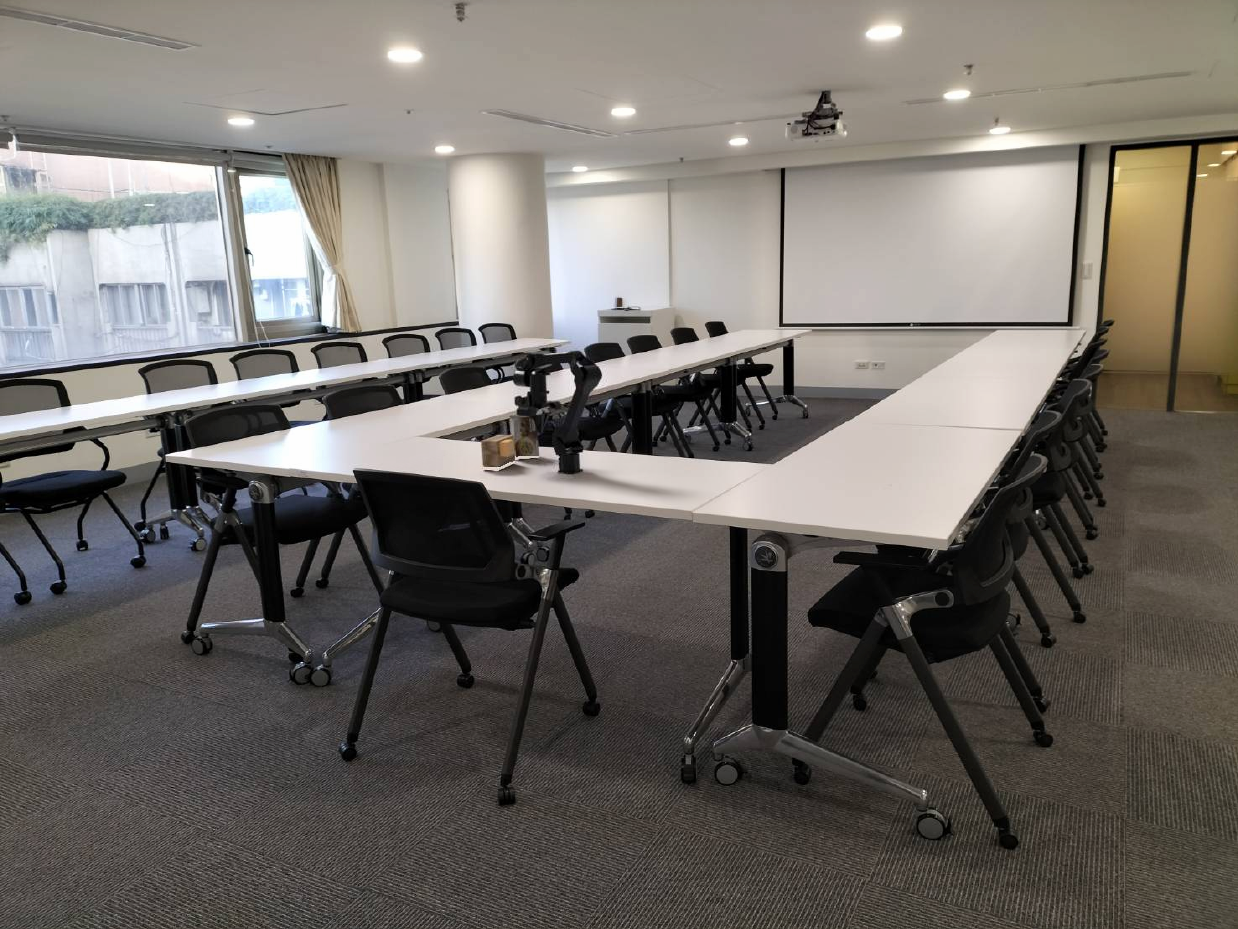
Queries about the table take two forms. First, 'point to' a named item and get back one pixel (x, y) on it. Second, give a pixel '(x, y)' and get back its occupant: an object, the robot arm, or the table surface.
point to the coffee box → (524, 435)
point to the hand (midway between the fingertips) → (540, 432)
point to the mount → (495, 451)
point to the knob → (506, 448)
